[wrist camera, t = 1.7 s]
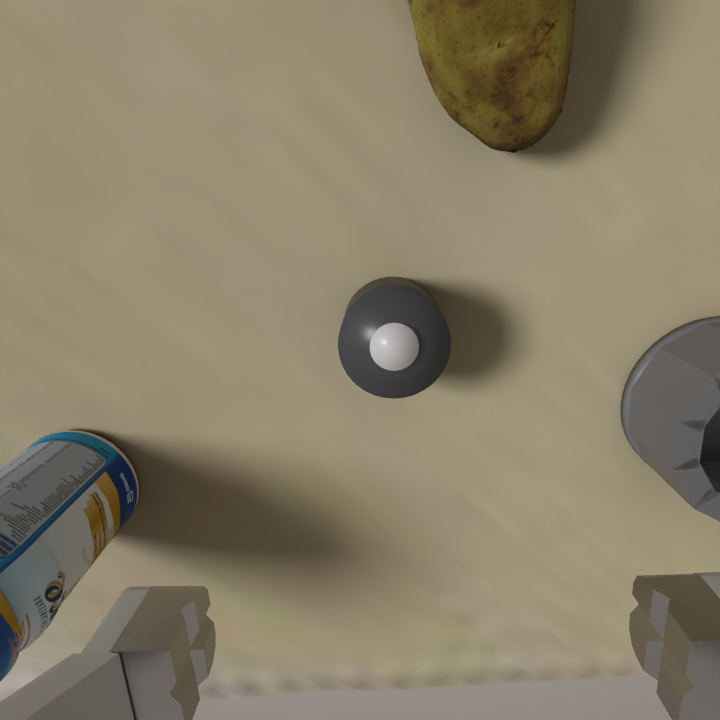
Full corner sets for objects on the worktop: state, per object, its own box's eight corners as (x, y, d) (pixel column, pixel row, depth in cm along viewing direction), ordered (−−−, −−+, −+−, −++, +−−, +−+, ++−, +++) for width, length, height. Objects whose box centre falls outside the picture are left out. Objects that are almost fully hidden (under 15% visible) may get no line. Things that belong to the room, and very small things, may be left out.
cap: (340, 279, 32) (333, 294, 27) (439, 273, 31) (450, 287, 26) (347, 372, 33) (341, 402, 28) (440, 367, 33) (451, 397, 28)
